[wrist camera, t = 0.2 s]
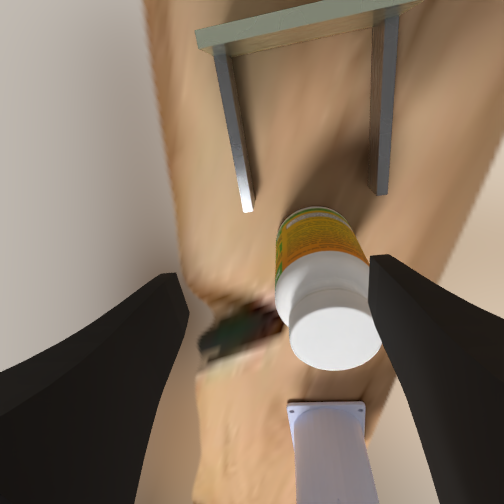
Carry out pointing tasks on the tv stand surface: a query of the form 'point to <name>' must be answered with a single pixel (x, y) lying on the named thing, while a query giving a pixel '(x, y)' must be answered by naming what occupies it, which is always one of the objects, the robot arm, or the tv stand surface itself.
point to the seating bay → (300, 30)
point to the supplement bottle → (324, 290)
